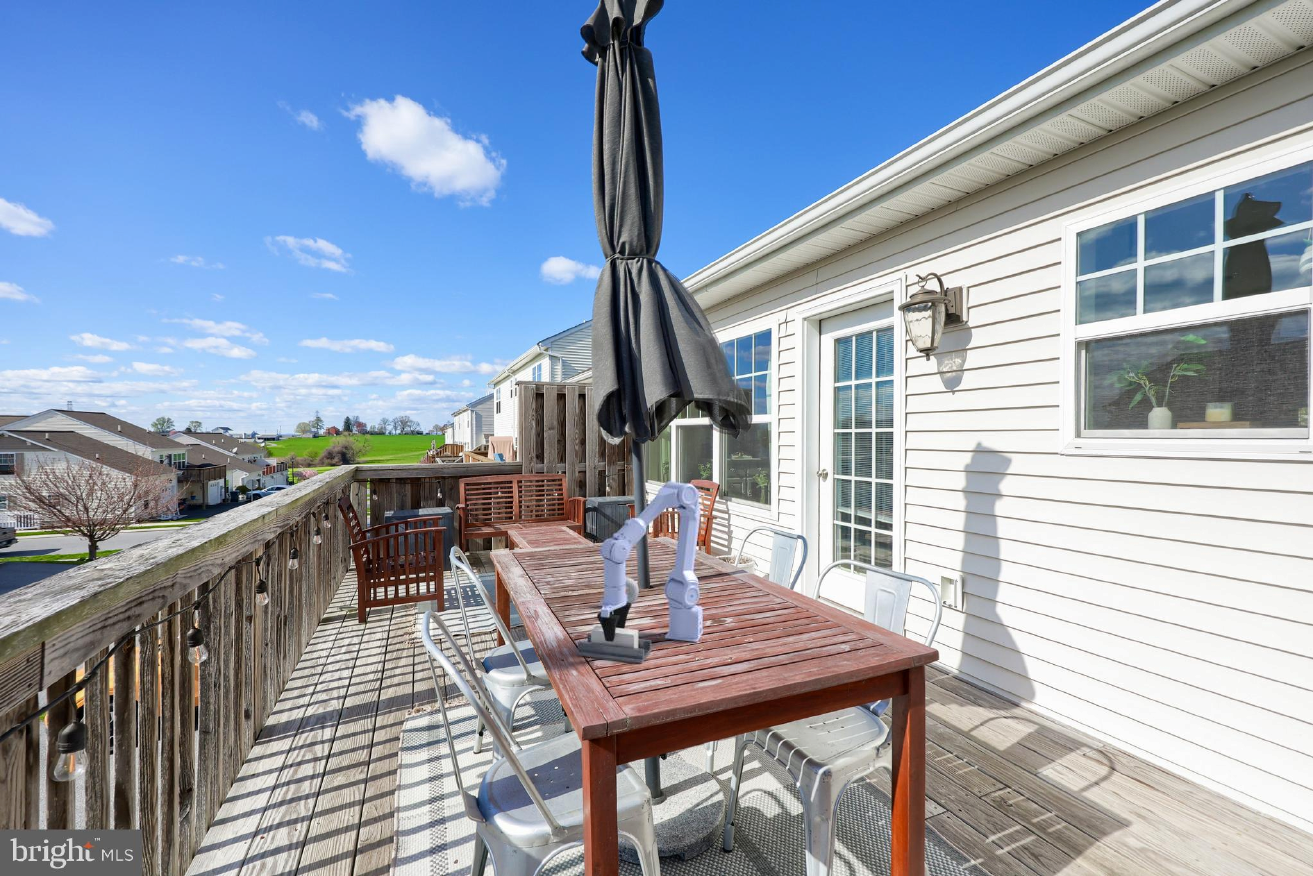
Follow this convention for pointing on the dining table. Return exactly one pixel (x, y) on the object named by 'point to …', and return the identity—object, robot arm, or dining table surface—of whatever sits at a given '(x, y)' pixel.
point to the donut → (632, 590)
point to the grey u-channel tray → (615, 651)
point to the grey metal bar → (616, 637)
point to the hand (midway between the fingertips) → (614, 635)
